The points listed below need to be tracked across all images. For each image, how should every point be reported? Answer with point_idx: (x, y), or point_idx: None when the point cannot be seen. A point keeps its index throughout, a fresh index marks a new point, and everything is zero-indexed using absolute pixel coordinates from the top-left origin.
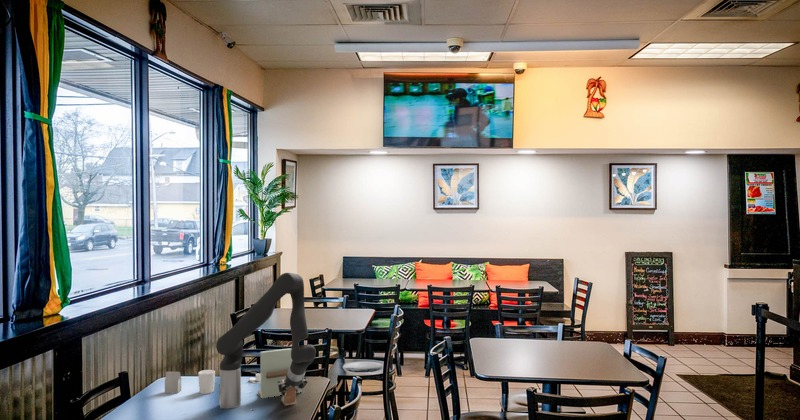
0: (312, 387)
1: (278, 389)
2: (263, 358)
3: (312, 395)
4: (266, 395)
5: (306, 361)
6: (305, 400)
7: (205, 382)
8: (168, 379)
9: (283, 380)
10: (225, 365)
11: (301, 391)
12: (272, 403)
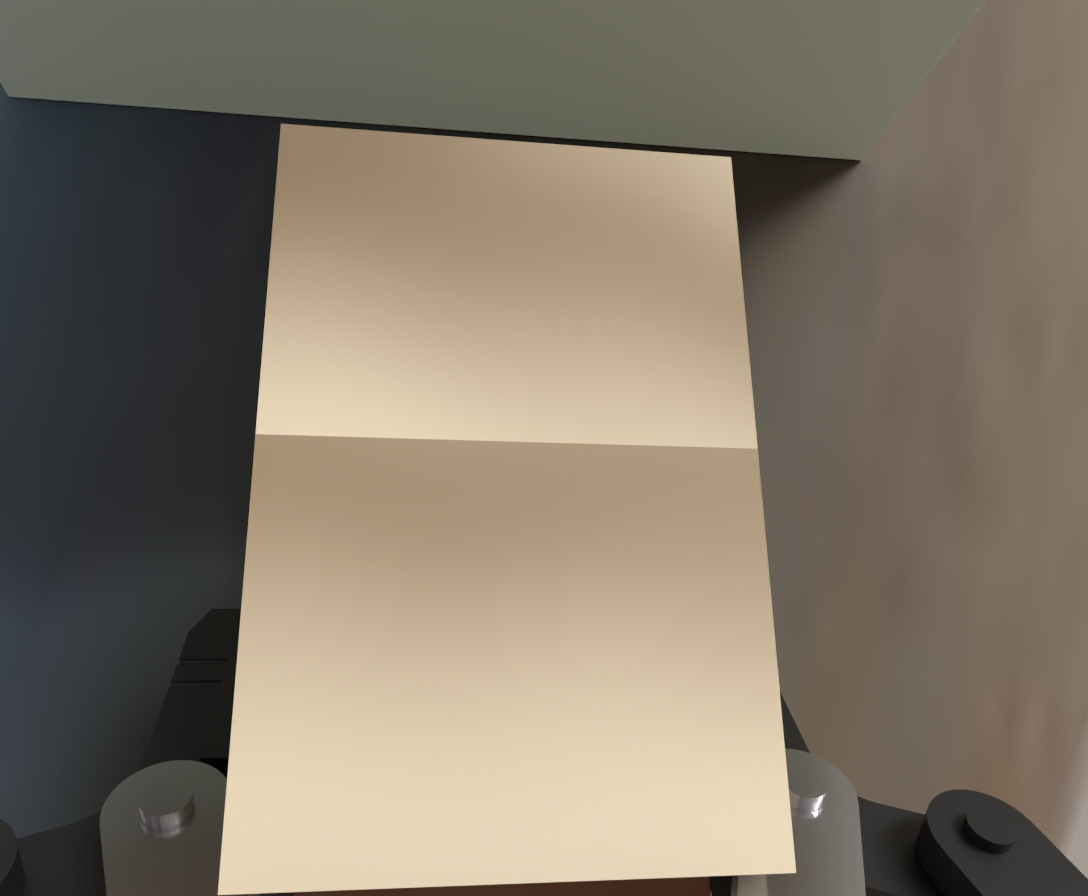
0: (1076, 13)
1: (383, 24)
2: None
3: (1025, 420)
4: (106, 71)
5: None
6: (841, 663)
7: None
8: None
9: (340, 280)
10: None
11: (860, 146)
12: (99, 506)
